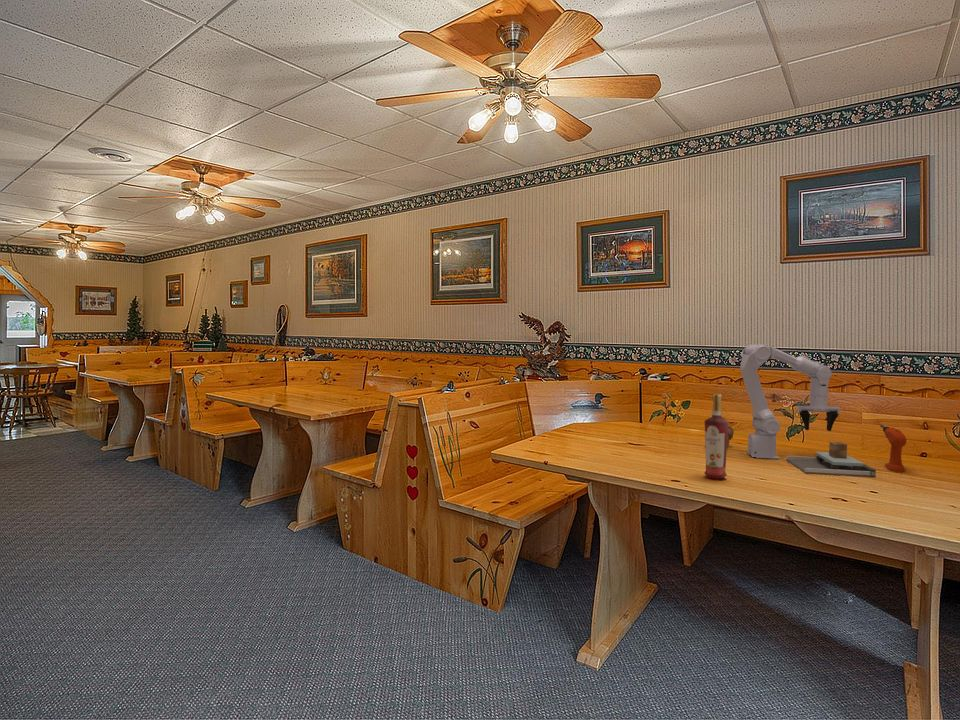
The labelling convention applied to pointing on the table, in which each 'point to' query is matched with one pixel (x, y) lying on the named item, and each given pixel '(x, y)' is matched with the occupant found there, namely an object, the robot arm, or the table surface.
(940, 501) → the table surface
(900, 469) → the toy drill
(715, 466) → the liquor
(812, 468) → the track
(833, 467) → the grey flat slab
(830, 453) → the block
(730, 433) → the lion figurine
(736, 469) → the table surface
